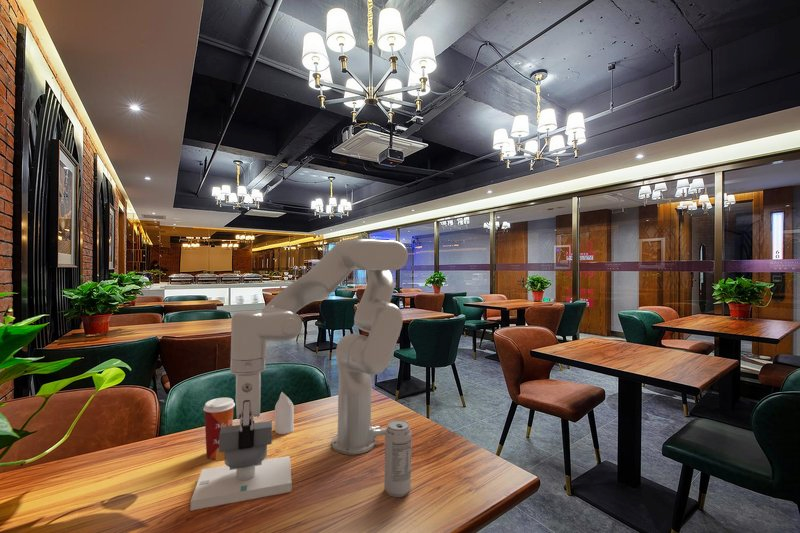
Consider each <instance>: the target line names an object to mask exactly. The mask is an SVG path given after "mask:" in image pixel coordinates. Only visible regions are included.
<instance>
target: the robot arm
mask: <svg viewBox="0 0 800 533" xmlns="http://www.w3.org/2000/svg"><path fill="white" fill-rule="evenodd" d="M408 258H409V252H408V249H407V248H406V246H405V245H404V244H403V243H402V242H400V241H398V240H389V239H388V240H386V239H373V238H372V239H371V238H352V239H344V240H341V241H339V242H337V243H336V244H335V245H334V246H333V247H332V248H330V250H328V252H326V253H325V254H324V256H323V257H322V258H321V259H320V260H318V261H317V262H316V264H314V266H313V267H311V269H310V270H309V271H308V272H306V273H304V274H303V275H302V276H300V277H299V278H297V279H296V280H294V281H293V282H292V283H289V285H287V286H286V287H285V288H283V289H282V290H281V291H279V293H277V294H276V295H275V296H274V297H272V299H271V300H269V302H268V303H266V305H265V306H264V307H263V308H262V309H261V310H260V311H259V310H243V311H238V312H235V313H234V314H233V315H232V317H231V325H230V326H231V332H230V333H231V336H230V365H229V366H230V367H229V368H230V370H229V371H230V372H229V373H230V374H232V375H235V409H236V411H235V415H236V419H237V420H239V425H240V431H239V441H238V448H239V449H245V448H251V447H253V446H254V429H253V423H255V420H254V417H256V418H259V417H260V416H261V400H262V399H261V398H262V397H261V396H262V394H261V392H262V391H261V390H262V388H261V387H262V379H261V376H262V375H261V373H263V372H264V371H265V370H266V360H267V359H266V357H267V356H266V355H267V354H266V353H267V352H266V351H267V349H266V348H267V342H269V341H270V342H271V341H272V342H287V341H291V340H294V339H295V338H296V337H298V335H299V334H300V333H301V331H302V328H303V320H302V318H301V317H300V315H298V314H297V312H298V311H300V310H301V309H302V308H304V307H305V306H307V305H310V303H313V302H316V301H319V300H322V299H325V298H327V297H328V296H330V295H332V294H333V293H334V292H335V291H336V289H338V287H339V286H340V285H341V284H342V283H343V282H344V280H346V278H347V277H348V276H350V274H351V273H352V272H354V270H356V271H357V270H358V271H365V272H366V275H367V282H366V286H365V289H364V292H363V294H362V296H361V298H360V302H359V304H358V306H357V308H356V311H355V314H354V317H353V319H354V320H353V321H354V324H355V326H356V328H358V329H359V330H361V331H363V332H366V333H368V336H366V335H364V334H360V333H349V334H347V335H344V336H343V337H341V339H340V340H339V342H338V343H337V345H336V348H335V359H336V364H337V373H338V391H337V393H338V394H337V395H338V397H337V398H338V400H337V434H336V435H335V436H333V438H332V441H331V446H332V448H333V450H335V451H336V452H338V453H340V454H344V455H350V456H351V455H361V454H364V453H367V452H369V451H371V450H372V449H373V448H374V447H375V446H376V443H377V441H376V440H377V439H376V438H377V437H378V436H380V437H382V436H385V431H386V429H387V428H386V427H382V428H381V426H380V425H375V426H372V425H371V424H372V422H371V421H372V376H376V375H379V374H381V373H383V371H385V369H386V368H387V367H388V365H389V363H390V361H391V358H392V356H393V352H394V350H395V347H396V344H397V343H398V342H397V341H398V340H399V336H400V335H401V330H402V328H403V313H402V310H401V309H400V308H399V307H398V305H396V304H394V303H392V302H391V301H392V298H393V294H394V290H395V282H394V278H393V274H392V272H391V271H397V270H400V269H403V268H404V267H405V266H406V264H407V261H408ZM250 426H251V427H250Z"/></svg>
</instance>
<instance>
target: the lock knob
mask: <svg viewBox="0 0 800 533" xmlns="http://www.w3.org/2000/svg"><path fill="white" fill-rule="evenodd" d="M250 427H251V426H250ZM253 429H254V446H253V447H251V448H245V449H239V448H238V441H239V431H240V424H236V425H232V426H227V427H221V431H220V434H219V449H217V451H216V459H215V462H217V463H218V462H223V461H224V464H225V466H228V467H231V468H245V467H250V466H253V465H256V464H258V463H260V462H261V461H263V460H266V457H267V455H268V445H272V441H273V440H272V436H273V435H272V434H273V421H272V420H269V421H261V422H254V423H253Z"/></svg>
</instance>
